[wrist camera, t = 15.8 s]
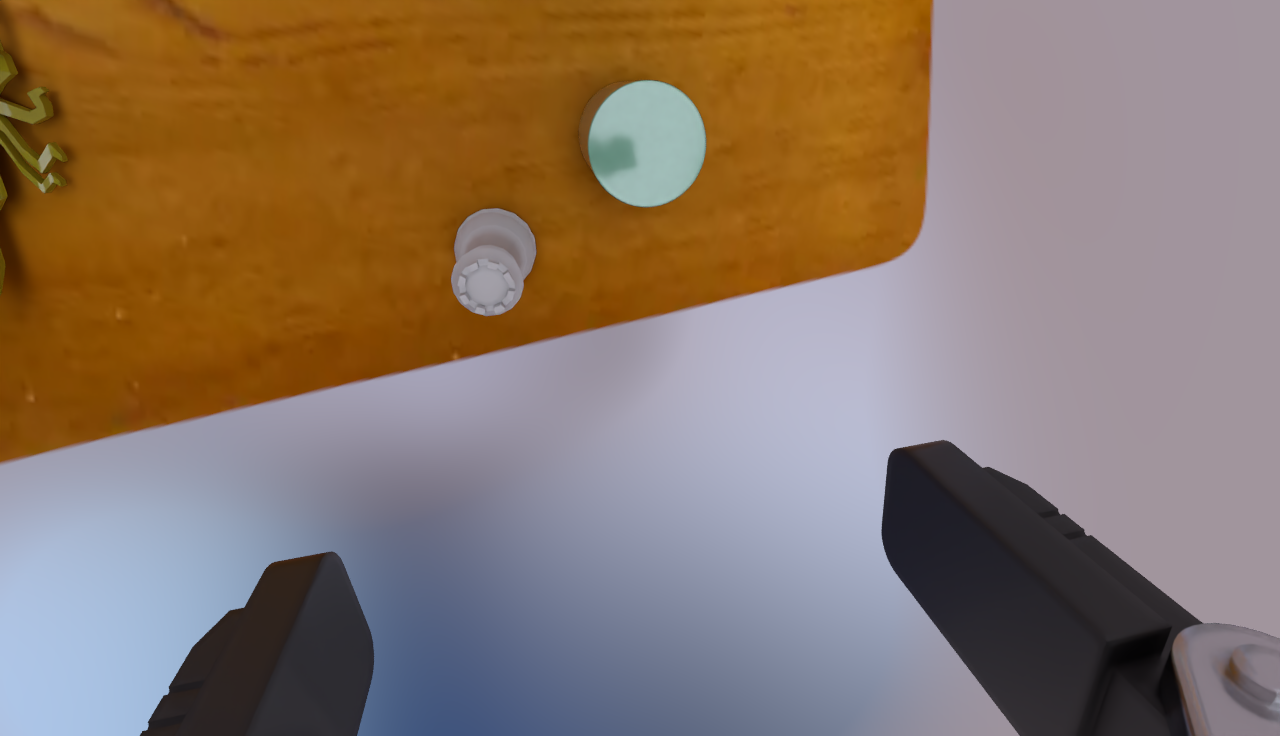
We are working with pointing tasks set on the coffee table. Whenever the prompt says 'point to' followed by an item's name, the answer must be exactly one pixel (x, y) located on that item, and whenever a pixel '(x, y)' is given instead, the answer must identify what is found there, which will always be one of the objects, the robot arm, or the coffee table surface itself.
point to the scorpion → (5, 134)
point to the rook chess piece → (492, 261)
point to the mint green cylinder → (643, 141)
